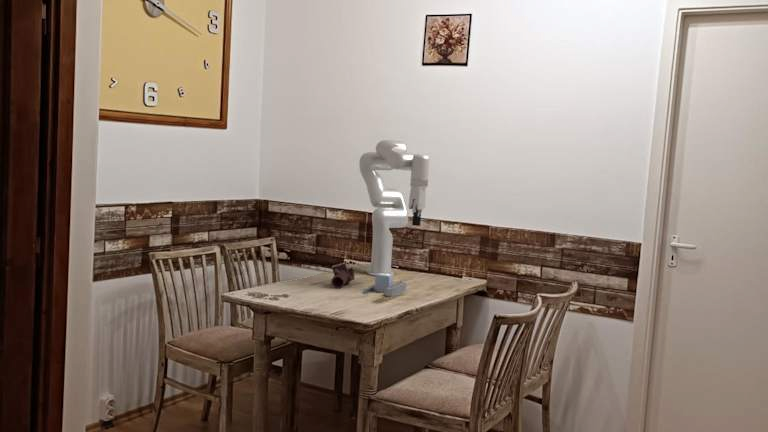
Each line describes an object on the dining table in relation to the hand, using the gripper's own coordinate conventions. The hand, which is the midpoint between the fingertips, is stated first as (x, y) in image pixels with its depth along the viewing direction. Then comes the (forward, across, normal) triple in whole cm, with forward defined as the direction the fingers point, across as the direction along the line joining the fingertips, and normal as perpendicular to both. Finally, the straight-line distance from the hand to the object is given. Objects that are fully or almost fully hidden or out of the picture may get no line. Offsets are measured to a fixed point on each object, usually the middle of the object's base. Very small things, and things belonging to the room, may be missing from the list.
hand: (416, 225), depth 337 cm
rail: (+27, +18, -7) cm, 33 cm away
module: (+27, +18, -7) cm, 33 cm away
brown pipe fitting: (+27, +16, -27) cm, 42 cm away
